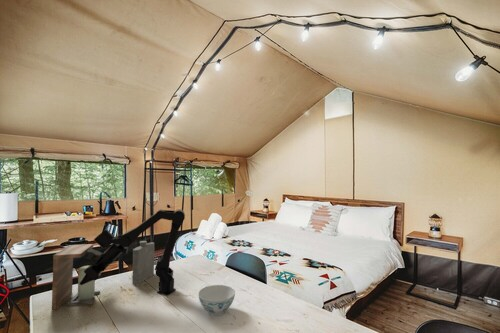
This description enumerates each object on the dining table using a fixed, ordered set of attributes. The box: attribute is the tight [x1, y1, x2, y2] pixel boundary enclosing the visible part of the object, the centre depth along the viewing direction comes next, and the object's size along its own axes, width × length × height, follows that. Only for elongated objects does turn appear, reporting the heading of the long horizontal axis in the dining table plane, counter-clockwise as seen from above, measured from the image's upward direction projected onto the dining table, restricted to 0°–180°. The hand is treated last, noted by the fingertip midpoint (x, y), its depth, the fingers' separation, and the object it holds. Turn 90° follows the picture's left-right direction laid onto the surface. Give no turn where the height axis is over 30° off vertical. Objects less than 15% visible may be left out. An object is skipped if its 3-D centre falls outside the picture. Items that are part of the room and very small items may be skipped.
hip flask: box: [131, 240, 155, 286], centre depth 142 cm, size 16×4×20 cm, turn 166°
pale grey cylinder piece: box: [77, 264, 96, 301], centre depth 118 cm, size 6×6×13 cm
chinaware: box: [198, 284, 236, 317], centre depth 109 cm, size 15×15×8 cm
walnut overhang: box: [51, 243, 101, 311], centre depth 118 cm, size 14×16×22 cm
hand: (83, 281), depth 118 cm, fingers closed on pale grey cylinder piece, 6 cm apart
